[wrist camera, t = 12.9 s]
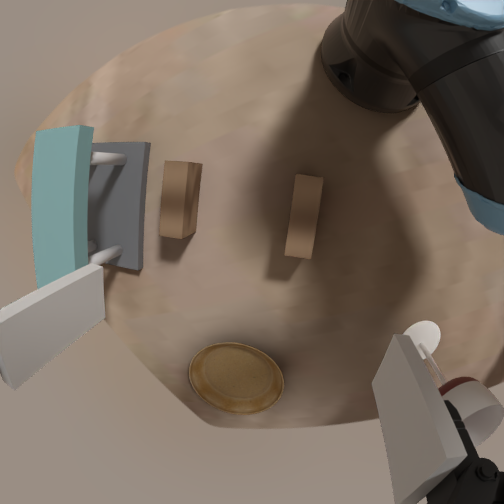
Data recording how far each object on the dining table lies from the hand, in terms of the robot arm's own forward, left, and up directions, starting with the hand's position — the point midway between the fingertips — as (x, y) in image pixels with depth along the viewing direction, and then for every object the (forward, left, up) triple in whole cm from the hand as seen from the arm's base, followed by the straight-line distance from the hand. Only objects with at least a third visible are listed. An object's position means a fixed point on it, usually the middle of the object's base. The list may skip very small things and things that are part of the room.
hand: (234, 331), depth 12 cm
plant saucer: (+24, -3, -27) cm, 36 cm away
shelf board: (0, -25, -16) cm, 29 cm away
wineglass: (+14, +24, -26) cm, 38 cm away
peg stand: (0, -25, -26) cm, 36 cm away
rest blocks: (-2, -5, -26) cm, 27 cm away
